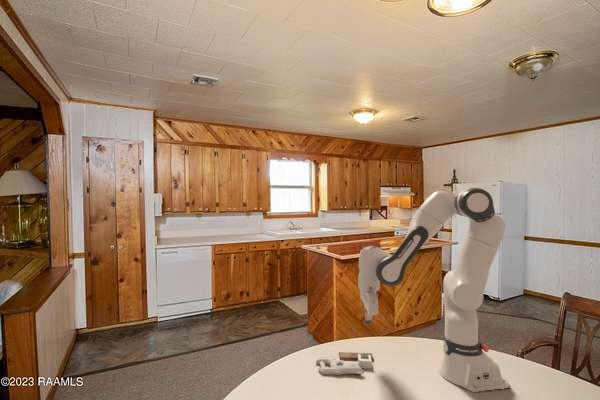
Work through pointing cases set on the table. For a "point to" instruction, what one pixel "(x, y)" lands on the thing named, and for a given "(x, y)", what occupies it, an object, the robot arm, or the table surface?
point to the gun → (339, 366)
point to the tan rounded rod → (367, 322)
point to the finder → (365, 361)
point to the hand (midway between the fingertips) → (368, 317)
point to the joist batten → (352, 356)
